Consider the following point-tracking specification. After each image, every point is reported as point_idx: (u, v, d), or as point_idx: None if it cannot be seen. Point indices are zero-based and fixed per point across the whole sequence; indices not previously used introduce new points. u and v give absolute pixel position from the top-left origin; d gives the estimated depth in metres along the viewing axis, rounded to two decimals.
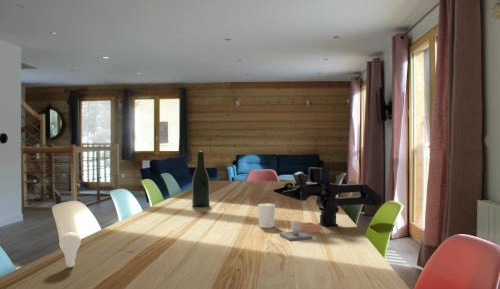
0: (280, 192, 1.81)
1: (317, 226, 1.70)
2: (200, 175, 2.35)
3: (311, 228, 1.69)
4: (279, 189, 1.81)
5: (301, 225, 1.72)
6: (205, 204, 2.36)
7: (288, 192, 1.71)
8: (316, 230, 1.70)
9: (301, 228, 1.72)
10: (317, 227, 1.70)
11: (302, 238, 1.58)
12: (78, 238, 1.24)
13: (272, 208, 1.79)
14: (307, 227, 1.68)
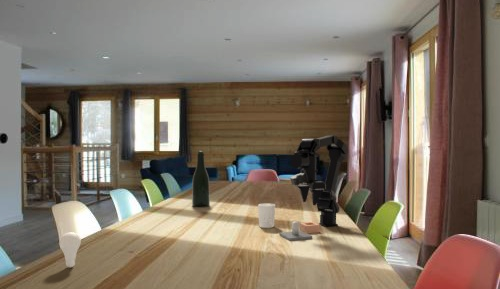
0: (306, 194, 1.77)
1: (317, 226, 1.70)
2: (200, 175, 2.35)
3: (311, 228, 1.69)
4: (303, 195, 1.76)
5: (301, 225, 1.72)
6: (205, 204, 2.36)
7: (314, 199, 1.67)
8: (316, 230, 1.70)
9: (301, 228, 1.72)
10: (317, 227, 1.70)
11: (302, 238, 1.58)
12: (78, 238, 1.24)
13: (272, 208, 1.79)
14: (307, 227, 1.68)
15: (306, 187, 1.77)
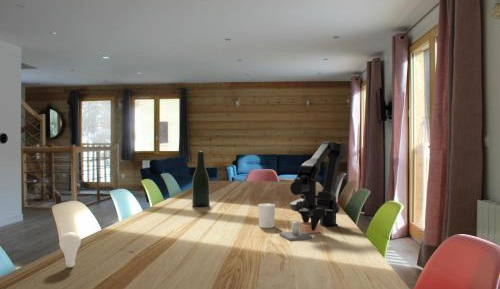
0: (307, 219, 1.76)
1: (317, 226, 1.70)
2: (200, 175, 2.35)
3: (311, 228, 1.69)
4: (305, 221, 1.75)
5: (301, 225, 1.72)
6: (205, 204, 2.36)
7: (313, 224, 1.68)
8: (316, 230, 1.70)
9: (301, 228, 1.72)
10: (317, 227, 1.70)
11: (302, 238, 1.58)
12: (78, 238, 1.24)
13: (272, 208, 1.79)
14: (307, 227, 1.68)
15: (307, 212, 1.76)
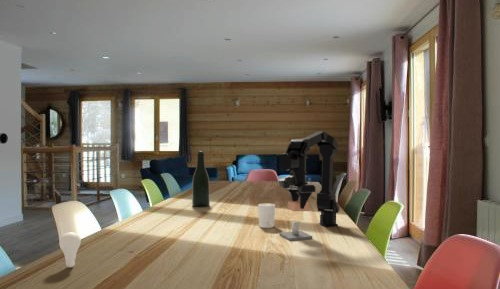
0: (297, 198, 1.68)
1: (306, 204, 1.62)
2: (200, 175, 2.35)
3: None
4: (294, 199, 1.67)
5: (290, 203, 1.64)
6: (205, 204, 2.36)
7: (302, 202, 1.60)
8: (305, 208, 1.62)
9: (290, 206, 1.64)
10: (306, 205, 1.62)
11: (302, 238, 1.58)
12: (78, 238, 1.24)
13: (272, 208, 1.79)
14: (296, 205, 1.60)
15: (297, 191, 1.68)
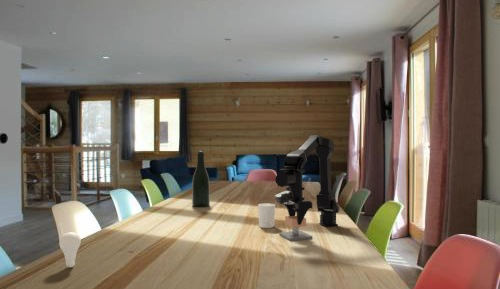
0: (294, 213, 1.66)
1: (303, 220, 1.60)
2: (200, 175, 2.35)
3: (297, 222, 1.59)
4: (291, 214, 1.65)
5: (287, 219, 1.62)
6: (205, 204, 2.36)
7: (299, 218, 1.58)
8: (302, 224, 1.60)
9: (287, 222, 1.62)
10: (303, 221, 1.60)
11: (302, 238, 1.58)
12: (78, 238, 1.24)
13: (272, 208, 1.79)
14: (293, 221, 1.58)
15: (294, 205, 1.66)
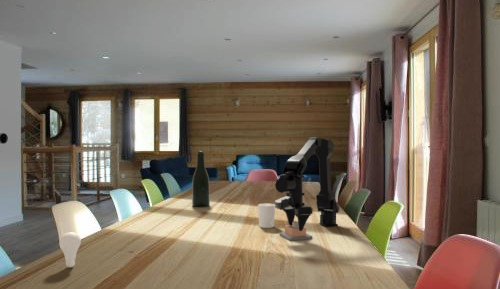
0: (292, 218, 1.67)
1: (303, 229, 1.60)
2: (200, 175, 2.35)
3: (297, 231, 1.59)
4: (289, 219, 1.66)
5: (287, 228, 1.62)
6: (205, 204, 2.36)
7: (300, 224, 1.57)
8: (302, 233, 1.60)
9: (287, 231, 1.62)
10: (303, 230, 1.60)
11: (302, 238, 1.58)
12: (78, 238, 1.24)
13: (272, 208, 1.79)
14: (293, 230, 1.58)
15: (292, 210, 1.67)
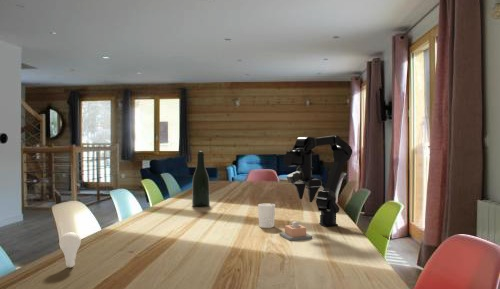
0: (302, 191, 1.80)
1: (303, 229, 1.60)
2: (200, 175, 2.35)
3: (297, 231, 1.59)
4: (299, 193, 1.80)
5: (287, 228, 1.62)
6: (205, 204, 2.36)
7: (311, 196, 1.70)
8: (302, 233, 1.60)
9: (287, 231, 1.62)
10: (303, 230, 1.60)
11: (302, 238, 1.58)
12: (78, 238, 1.24)
13: (272, 208, 1.79)
14: (293, 230, 1.58)
15: (302, 184, 1.81)
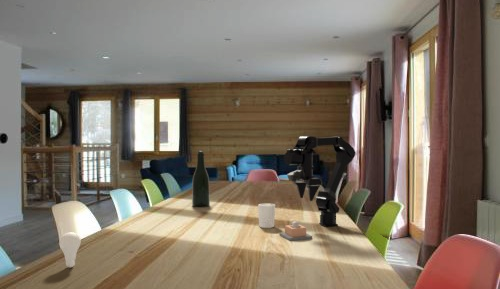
0: (303, 190, 1.82)
1: (303, 229, 1.60)
2: (200, 175, 2.35)
3: (297, 231, 1.59)
4: (300, 192, 1.81)
5: (287, 228, 1.62)
6: (205, 204, 2.36)
7: (311, 195, 1.72)
8: (302, 233, 1.60)
9: (287, 231, 1.62)
10: (303, 230, 1.60)
11: (302, 238, 1.58)
12: (78, 238, 1.24)
13: (272, 208, 1.79)
14: (293, 230, 1.58)
15: (303, 183, 1.82)
